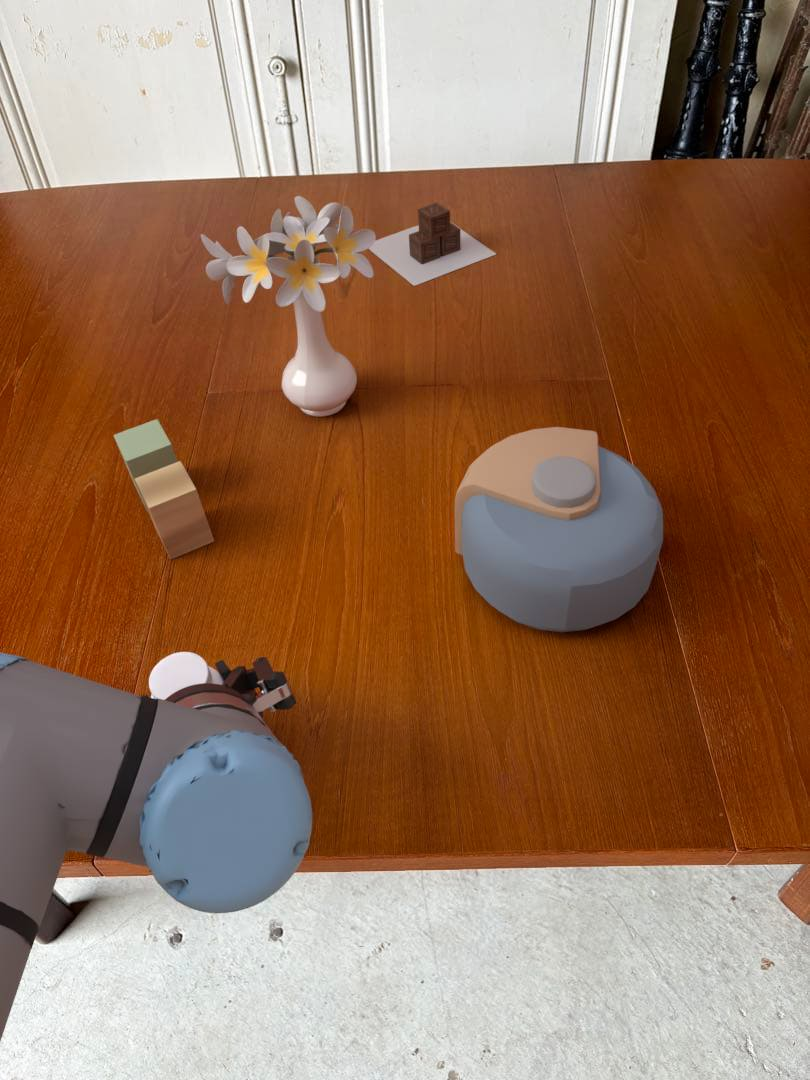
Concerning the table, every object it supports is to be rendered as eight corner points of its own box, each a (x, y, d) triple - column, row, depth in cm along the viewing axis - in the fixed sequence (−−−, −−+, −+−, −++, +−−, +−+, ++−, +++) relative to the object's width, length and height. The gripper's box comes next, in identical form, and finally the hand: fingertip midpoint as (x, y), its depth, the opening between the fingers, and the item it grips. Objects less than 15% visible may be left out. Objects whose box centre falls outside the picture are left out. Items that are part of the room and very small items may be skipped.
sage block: (190, 496, 93) (171, 444, 87) (148, 513, 91) (126, 461, 85) (176, 471, 96) (157, 418, 90) (135, 487, 94) (113, 434, 88)
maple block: (214, 541, 88) (196, 489, 82) (170, 560, 87) (148, 508, 81) (199, 513, 91) (180, 460, 85) (156, 530, 90) (134, 478, 84)
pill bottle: (184, 787, 69) (146, 722, 61) (168, 728, 73) (131, 660, 65) (254, 758, 71) (226, 692, 62) (235, 702, 74) (207, 632, 66)
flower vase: (241, 386, 106) (192, 199, 87) (379, 362, 108) (361, 173, 89) (250, 452, 97) (198, 260, 79) (400, 423, 99) (385, 229, 80)
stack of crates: (442, 216, 133) (441, 174, 128) (496, 254, 124) (498, 211, 119) (363, 245, 128) (359, 202, 123) (413, 286, 120) (411, 242, 114)
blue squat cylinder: (574, 469, 92) (585, 383, 83) (692, 591, 80) (721, 506, 71) (425, 532, 87) (420, 448, 78) (527, 672, 75) (536, 591, 66)
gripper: (78, 888, 47) (98, 782, 69) (371, 735, 53) (303, 682, 75) (22, 773, 46) (61, 703, 68) (325, 630, 52) (271, 608, 74)
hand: (187, 692), depth 71 cm, fingers closed on pill bottle, 6 cm apart
